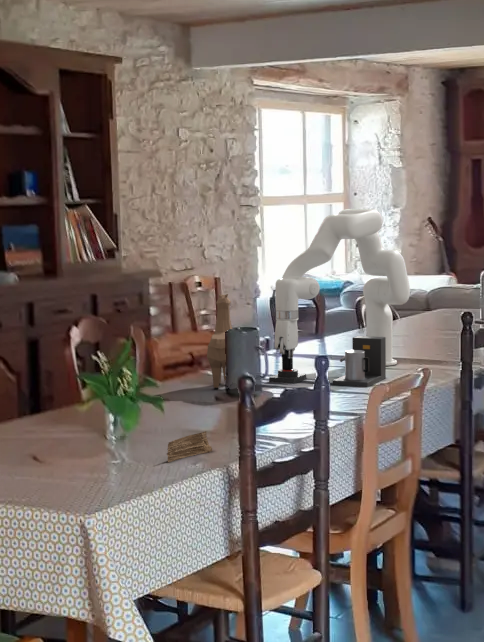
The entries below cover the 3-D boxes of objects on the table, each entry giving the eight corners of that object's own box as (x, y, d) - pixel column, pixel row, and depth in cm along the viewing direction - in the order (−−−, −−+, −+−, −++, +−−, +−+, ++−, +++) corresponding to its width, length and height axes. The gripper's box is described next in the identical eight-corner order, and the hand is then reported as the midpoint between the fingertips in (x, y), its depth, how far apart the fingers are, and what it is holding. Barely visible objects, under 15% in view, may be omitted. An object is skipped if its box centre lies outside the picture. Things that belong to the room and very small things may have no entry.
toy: (238, 381, 393) (237, 292, 390) (234, 392, 373) (233, 298, 370) (212, 381, 394) (211, 293, 391) (207, 392, 374) (205, 298, 371)
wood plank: (172, 463, 277) (171, 442, 277) (165, 462, 279) (165, 441, 278) (212, 451, 289) (212, 431, 289) (205, 450, 291) (205, 430, 290)
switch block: (281, 377, 401) (281, 367, 400) (306, 378, 397) (306, 368, 396) (269, 382, 391) (269, 371, 391) (294, 383, 387) (294, 373, 387)
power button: (284, 373, 396) (284, 368, 396) (294, 374, 394) (294, 369, 394) (280, 375, 393) (280, 370, 393) (290, 376, 391) (290, 370, 391)
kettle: (343, 376, 390) (343, 349, 389) (372, 377, 386) (371, 350, 385) (336, 379, 385) (336, 351, 384) (365, 380, 380) (365, 353, 379)
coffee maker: (351, 376, 400) (351, 335, 399) (385, 378, 395) (385, 337, 394) (332, 384, 383) (332, 342, 382) (367, 387, 378) (367, 344, 377)
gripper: (285, 313, 400) (285, 366, 402) (267, 317, 387) (268, 372, 388) (305, 313, 397) (306, 367, 398) (288, 318, 383) (289, 373, 385)
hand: (287, 369), depth 393 cm, fingers closed
